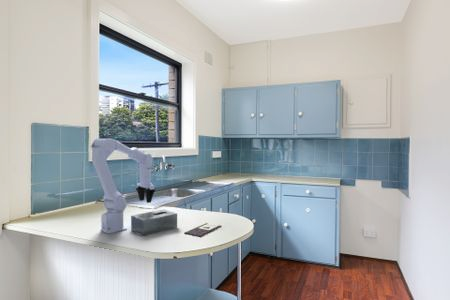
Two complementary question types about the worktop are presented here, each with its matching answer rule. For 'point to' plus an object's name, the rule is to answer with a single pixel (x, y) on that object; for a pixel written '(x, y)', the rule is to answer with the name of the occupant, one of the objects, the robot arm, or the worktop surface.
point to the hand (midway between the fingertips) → (145, 201)
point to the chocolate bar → (202, 230)
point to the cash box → (153, 222)
